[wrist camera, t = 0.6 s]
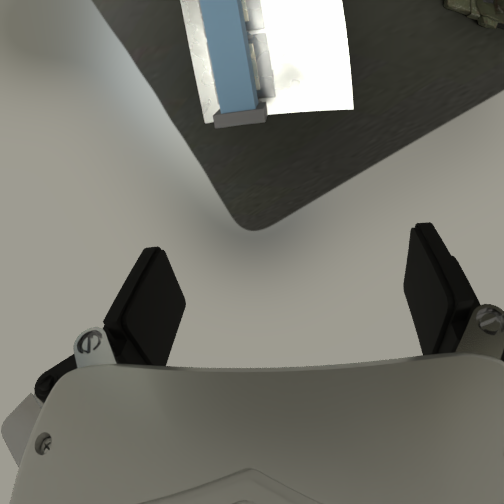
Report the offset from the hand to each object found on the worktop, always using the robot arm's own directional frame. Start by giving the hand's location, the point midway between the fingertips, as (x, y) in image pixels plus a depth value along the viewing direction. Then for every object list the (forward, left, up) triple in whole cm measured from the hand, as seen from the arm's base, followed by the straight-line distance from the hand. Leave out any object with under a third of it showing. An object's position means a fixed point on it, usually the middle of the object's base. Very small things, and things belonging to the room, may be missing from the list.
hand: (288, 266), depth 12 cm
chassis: (-10, -1, -27) cm, 29 cm away
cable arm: (-11, -4, -22) cm, 25 cm away
